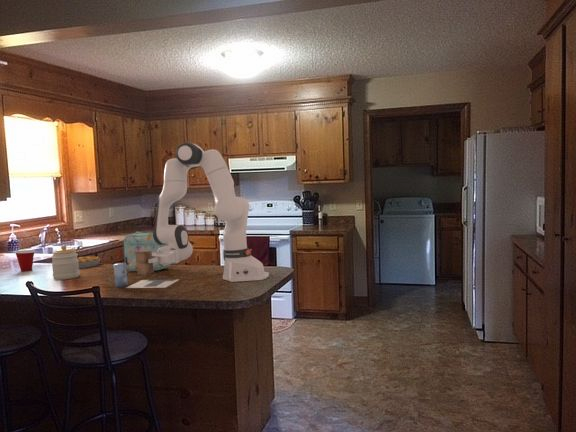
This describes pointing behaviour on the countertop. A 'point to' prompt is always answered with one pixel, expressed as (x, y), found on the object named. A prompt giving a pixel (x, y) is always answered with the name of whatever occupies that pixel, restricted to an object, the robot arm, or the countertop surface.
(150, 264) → the walnut block
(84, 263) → the pie
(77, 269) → the jar
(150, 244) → the lunch box
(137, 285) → the letter board
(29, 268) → the plastic cup
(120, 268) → the canister
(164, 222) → the robot arm
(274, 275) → the countertop surface
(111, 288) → the countertop surface
